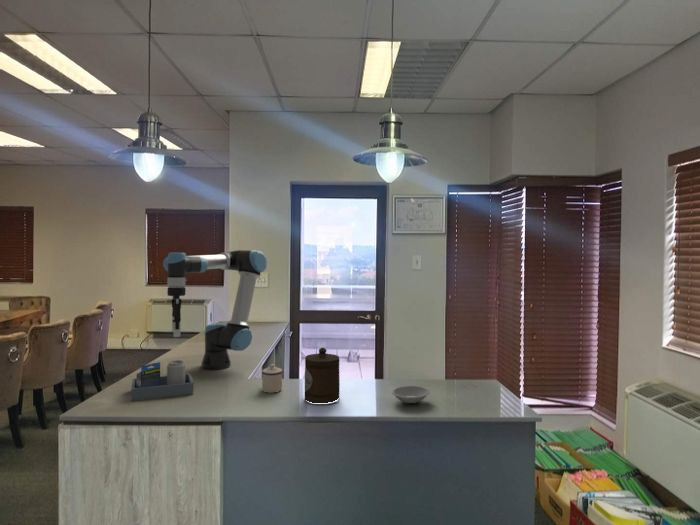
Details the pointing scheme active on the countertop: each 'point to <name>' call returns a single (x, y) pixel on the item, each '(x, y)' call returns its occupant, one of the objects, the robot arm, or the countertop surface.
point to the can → (176, 372)
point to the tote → (162, 389)
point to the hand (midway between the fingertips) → (176, 333)
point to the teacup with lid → (272, 379)
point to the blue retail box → (149, 376)
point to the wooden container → (322, 377)
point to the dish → (410, 393)
